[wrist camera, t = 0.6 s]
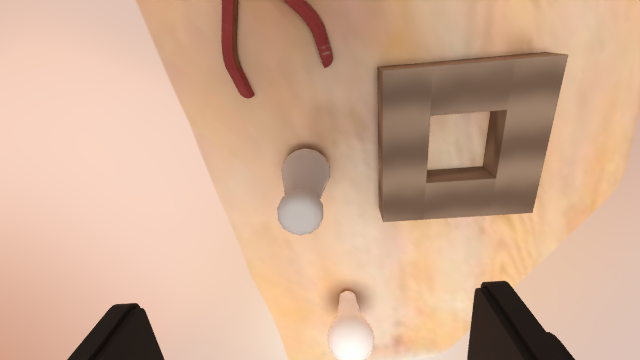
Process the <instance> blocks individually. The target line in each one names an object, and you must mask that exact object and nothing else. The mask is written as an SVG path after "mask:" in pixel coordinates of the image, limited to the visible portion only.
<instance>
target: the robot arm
mask: <svg viewBox="0 0 640 360" xmlns="http://www.w3.org/2000/svg"><path fill="white" fill-rule="evenodd" d="M467 359H468V360H575V359H574V358H573V357H572V355H571V354H570V353H569V352H568V350H567V349H566V348H565V346H564V345H563V344H562V343H561V341H560V340H559V339H558V338H557V337H556V336H555V335H553V334H552V333H550V332H546V331H545V330H544V328H543V327H542V326H541V324H540V323H539V322H538V321H537V319H536V318H535V317H534V315H533V314H532V313H531V311H530V310H529V309H528V308H527V306H526V305H525V304H524V302H523V301H522V300H521V299H520V297H519V296H518V295H517V293H516V292H515V291H514V289H513V288H512V287H511V285H510V284H509V283H508V282H506V281H494V282H483V283H482V284H481V288H476V290H475V295H474V303H473V312H472V321H471V330H470V339H469V348H468V358H467ZM68 360H164V357H163V355H162V352H161V350H160V347H159V345H158V342H157V340H156V337H155V335H154V332H153V330H152V327H151V324H150V322H149V319H148V317H147V314H146V312H145V310H144V309H143V308H140V306H139V305H138V304H137V303H130V304H116V305H113V306H112V307H111V308H110V309H109V310H108V311H107V312H106V314H105V315H104V316H103V317H102V319H101V320H100V321H99V322H98V323H97V324H96V326H95V327H94V328H93V329H92V331H91V332H90V333H89V334H88V335H87V336H86V338H85V339H84V340H83V341H82V343H81V344H80V345H79V346H78V347H77V349H76V350H75V351H74V352H73V353H72V355H71V356H70V357H69V358H68Z"/></svg>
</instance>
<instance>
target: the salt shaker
mask: <svg viewBox="0 0 640 360" xmlns="http://www.w3.org/2000/svg"><path fill="white" fill-rule="evenodd" d="M282 176H283V184H284V192H285V196H283V197H282V199H281V202H280V204H279V206H278V208H277V211H278V221H279V222H280V224H281V226H282V227H283V229H285V230H287V231H288V232H290V233H292V234H297V235H305V234H309V233H312V232H313V231H315V230H316V229H317V228H318V227H319V225H320V223H321V221H322V219H323V204H322V202H321V201H320V198H321V196H322V193H323V191H324V189H325V187H326V184H327V182H328V180H329V178H330V166H329V164H328V162H327V161H326V159H325V157H324V156H323V155H321V154H320V153H319V152H317V151H316V150H311V149H306V148H305V149H300V150H296V151H294V152H293V153H291V154H290V155H289V156H288V157H287V158H286V159H285V161H284V164H283V166H282Z"/></svg>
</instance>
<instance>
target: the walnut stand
mask: <svg viewBox="0 0 640 360" xmlns="http://www.w3.org/2000/svg"><path fill="white" fill-rule="evenodd" d="M567 58H568V55H567V54H558V53H549V52H543V53H532V54H520V55H509V56H498V57H486V58H475V59H463V60H452V61H440V62H429V63H418V64H406V65H395V66H383V67H378V145H379V209H380V213H381V216H382V220H383V222H391V221H407V220H424V219H440V218H456V217H472V216H489V215H505V214H521V213H532V212H533V208H534V204H535V199H536V195H537V190H538V186H539V181H540V177H541V173H542V168H543V164H544V159H545V155H546V151H547V146H548V142H549V137H550V133H551V129H552V124H553V120H554V115H555V111H556V107H557V102H558V98H559V93H560V89H561V85H562V80H563V76H564V71H565V67H566V63H567ZM484 111H491V113H490V120H489V127H488V134H487V141H486V148H485V156H484V163H483V167H471V168H457V169H442V170H428V171H427V160H428V143H429V127H430V116H434V115H446V114H459V113H472V112H484Z"/></svg>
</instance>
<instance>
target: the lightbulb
mask: <svg viewBox="0 0 640 360" xmlns="http://www.w3.org/2000/svg"><path fill="white" fill-rule="evenodd" d="M328 344H329V348H330V350H331V352H332V354H333V355H334V356H335V357H336V358H337V359H338V360H366V359H367V358H368V356H369V355H370V353H371V352H372V349H373V346H374V334H373V331H372V328H371V326H370V325H369V323H368V322H367V321H366V320H365V318H364V317H363V316H362V315H361V313H360V310H359V306H358V304H357V300H356V296H355V294H354V293H353V292H351V291H345V292H343V293H341V294H340V297H339V305H338V312H337V316H336V318H335V319H334V321H333V323H332V324H331V326H330V328H329V332H328Z"/></svg>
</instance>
